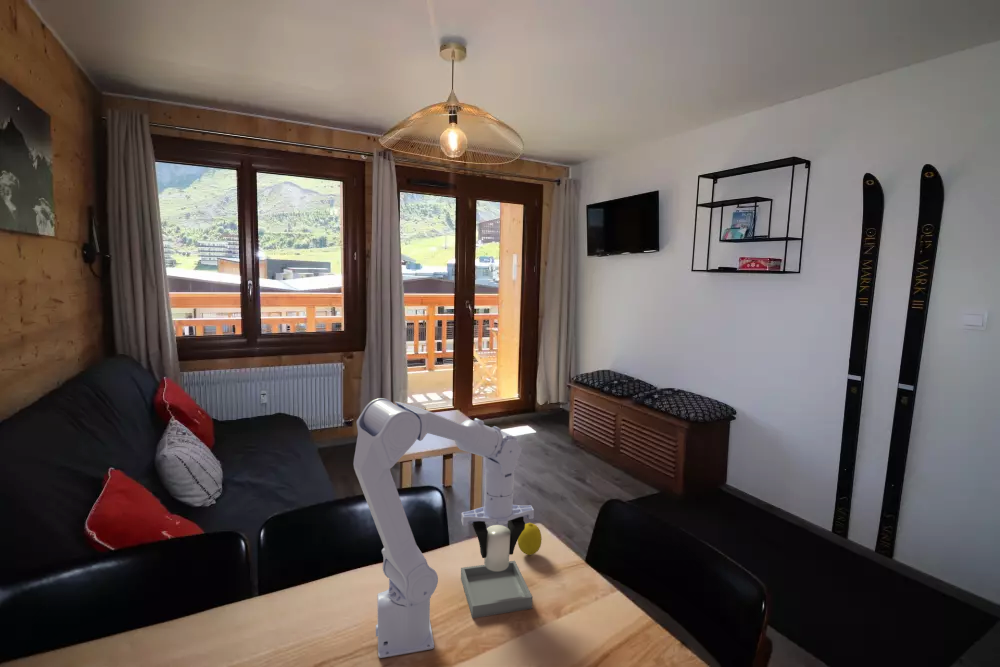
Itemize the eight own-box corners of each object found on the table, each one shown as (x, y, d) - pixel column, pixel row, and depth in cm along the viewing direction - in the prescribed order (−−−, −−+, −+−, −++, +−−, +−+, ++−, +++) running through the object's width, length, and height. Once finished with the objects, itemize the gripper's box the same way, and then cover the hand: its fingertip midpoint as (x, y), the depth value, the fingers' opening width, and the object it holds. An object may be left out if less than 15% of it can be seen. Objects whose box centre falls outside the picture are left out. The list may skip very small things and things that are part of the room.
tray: (472, 618, 93) (472, 606, 93) (460, 578, 105) (461, 567, 104) (531, 608, 96) (532, 597, 96) (514, 571, 108) (514, 560, 107)
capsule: (488, 573, 96) (489, 540, 95) (481, 557, 101) (482, 526, 99) (512, 569, 98) (513, 537, 96) (504, 553, 102) (505, 523, 101)
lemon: (543, 561, 112) (545, 528, 111) (520, 563, 111) (521, 530, 109) (536, 547, 117) (538, 516, 116) (514, 549, 116) (515, 517, 115)
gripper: (466, 503, 91) (465, 570, 93) (540, 496, 95) (537, 560, 97) (460, 486, 98) (458, 549, 100) (528, 480, 102) (526, 540, 104)
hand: (496, 553), depth 99 cm, fingers closed on capsule, 5 cm apart
